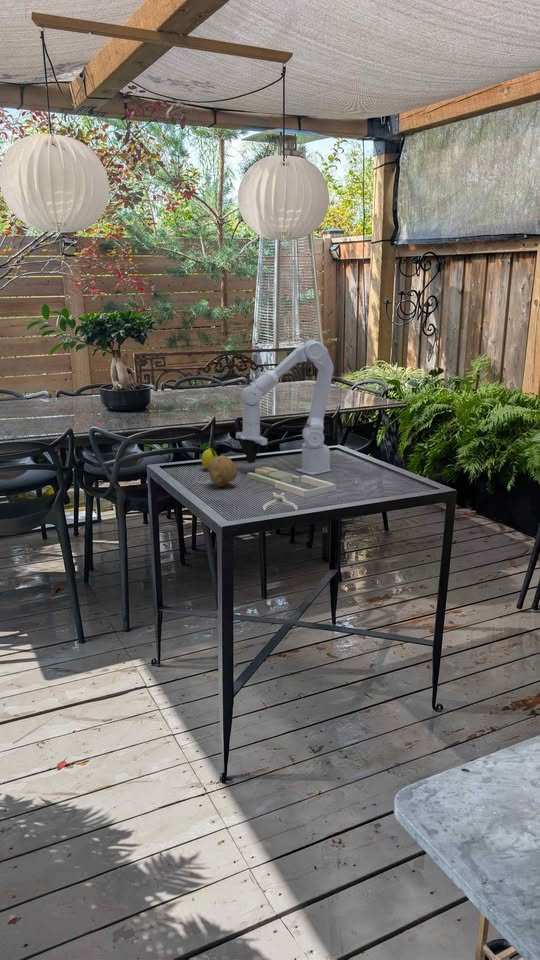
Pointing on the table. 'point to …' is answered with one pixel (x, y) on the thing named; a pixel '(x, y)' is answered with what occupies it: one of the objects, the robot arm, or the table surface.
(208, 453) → the lemon
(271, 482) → the slot rails
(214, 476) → the brown potato
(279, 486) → the tray
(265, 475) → the ash block
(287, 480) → the aluminium block
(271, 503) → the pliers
